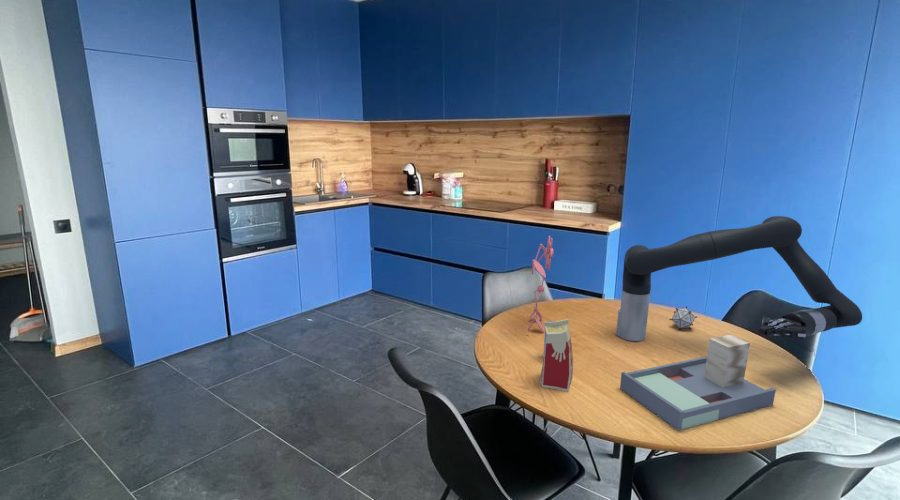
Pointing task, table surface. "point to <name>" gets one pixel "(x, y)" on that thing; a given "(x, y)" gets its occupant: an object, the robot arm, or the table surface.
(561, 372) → the milk carton
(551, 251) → the figurine
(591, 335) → the table surface
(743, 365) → the off-white block
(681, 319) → the game die
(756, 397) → the box
